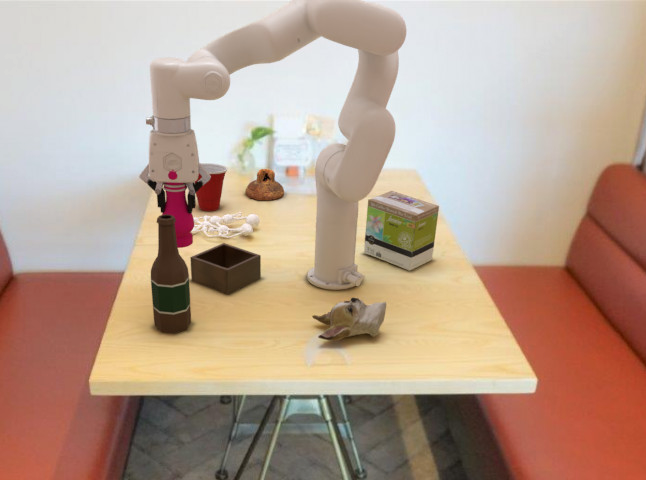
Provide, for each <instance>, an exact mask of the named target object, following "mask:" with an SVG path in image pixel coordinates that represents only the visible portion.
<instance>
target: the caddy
mask: <svg viewBox="0 0 646 480" xmlns="http://www.w3.org/2000/svg"><path fill="white" fill-rule="evenodd" d="M189 258H190V259H189V260H190V271H191V272H190V274H191V282H192V283H193V282H194V283H196V284H199V285H202V286H203V287H206V288H210V289H213V290H214V291H218V292H220V293H223V294H226V295H230V294H231V295H232V294H233V293H235V292H237V291H238V290H241V289H243V288H245V287H247V286H248V285H251V284H253V283H255V282H257V281H259V280H261V278H262V276H261V274H262V273H261V268H262V267H261V265H262V264H261V263H262V262H261V254H258V253H255V252H253V251H249V250H246V249H243V248H241V247H237V246H234V245H232V244H228V243H226V242H223V243H221V244H220V243H219V244H218V245H216V246H215V245H214V246H213V247H211V248H208V249H206V250H204V251H201V252H200V253H197V254H194V255H192V256H190V257H189Z"/></svg>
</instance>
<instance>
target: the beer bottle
mask: <svg viewBox="0 0 646 480" xmlns="http://www.w3.org/2000/svg"><path fill="white" fill-rule="evenodd" d="M175 222H176V220H175V217H174V216H172V215H167V214H165V215H162V214H161V215H160V214H159V215H158V217H156V223H157V226H158V227H157V229H158V230H157V231H158V232H157V233H158V234H157V235H158V240H157V241H158V242H157V243H158V244H157V245H158V247H157V248H158V249H157V256H156V258H155V259H154V261H153V262H152V265H151V268H150V287H151V299H152V300H151V301H152V312H153V314H152V315H153V320H154V321H153V323H154V326H155V327H156V328H157V329H158V330H159V331H160V332H162V333H169V334H177V333H181V332H184V331H187V330H188V328H189V327H190V325H191V323H192V310H191V309H192V308H191V292H190V291H191V290H190V274H189V268H188V266H187V263H186V260H184V258H183V256H181V255H180V252H179V248H178V247H177V239H176V231H175Z"/></svg>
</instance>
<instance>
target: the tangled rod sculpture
mask: <svg viewBox="0 0 646 480" xmlns="http://www.w3.org/2000/svg"><path fill="white" fill-rule="evenodd" d="M193 218H194V228H193V230H192V231H191V233H192V235H196V234H197V233H198V232H202V233H203V234H204V235H205V236H207V237H209V238H217V237H218V238H220V237H222V238H226V239H230V238H234V237H237V236H240V235H241V236H244V237H248V236H251V235H252V234H253V233H254V229H256V228H257V227H258V226H259V225H260V222H261V220H260V217H259V216H258V215H257V214H256V213H250V214H248V215H246V216H242V212H241V211H239V212H236V213H234V214H230V213H227V214H224V215H223V216H218V215H211V216H209V215H207V214H206V215H203V216H198V217H197V216H193ZM200 219H202V220H203V221H200ZM243 220H245V222H244V223H243V224H242V225H241V226H239V227H237V228H229V226H227V225H231V224H233V223H234V222H237V221H238V222H239V221H243ZM216 232H217V233H218V234H214V233H216ZM208 233H209V234H208ZM229 233H234V234H232V235H229ZM212 234H213V235H212Z"/></svg>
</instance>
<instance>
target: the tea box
mask: <svg viewBox="0 0 646 480" xmlns="http://www.w3.org/2000/svg"><path fill="white" fill-rule="evenodd" d="M366 208H367V210H366V221H365V223H366V224H365V232H364V233H365V234H364V247H363V250H364V251H363V254H365V255H369V256H372V257H375V258H377V259H379V260H382V261H384V262H387V263H390V264H392V265H394V266H397V267H400V268H401V269H404V270H406V271H409V272H410V271H412V270H415V269H416V268H418V267H421V266H422V265H425V264H426V263H429V262H431V261H432V260H433V255H434V248H435V240H436V233H437V226H438V225H437V224H438V219H439V211H440V210H439V209H440V205H438V204H435V203H431V202H428V201H425V200H422V199H419V198H415V197H412V196H409V195H406V194H403V193H400V192H397V191H393V190H390V191H387V192H385V193H383V194H380V195H377V196H375V197H372V198H370V199H367V207H366Z"/></svg>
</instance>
